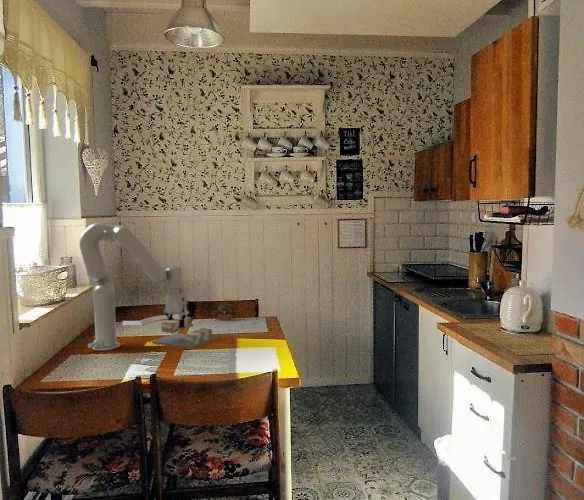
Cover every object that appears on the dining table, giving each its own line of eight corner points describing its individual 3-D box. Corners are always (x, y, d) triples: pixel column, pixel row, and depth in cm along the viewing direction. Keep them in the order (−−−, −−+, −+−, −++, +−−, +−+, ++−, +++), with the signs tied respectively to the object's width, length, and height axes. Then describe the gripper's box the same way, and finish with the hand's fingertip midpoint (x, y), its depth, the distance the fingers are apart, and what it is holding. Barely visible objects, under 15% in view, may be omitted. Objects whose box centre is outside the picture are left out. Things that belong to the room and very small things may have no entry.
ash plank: (173, 333, 242) (172, 324, 241) (161, 332, 245) (161, 323, 244) (193, 326, 256) (192, 317, 256) (181, 324, 259) (181, 316, 259)
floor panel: (193, 348, 236) (193, 346, 236) (152, 343, 246) (152, 341, 246) (214, 339, 252) (214, 337, 252) (175, 335, 263) (175, 333, 263)
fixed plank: (192, 345, 237) (192, 336, 237) (182, 344, 240) (182, 335, 239) (212, 337, 251) (211, 329, 251) (202, 336, 254) (201, 328, 254)
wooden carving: (210, 320, 296) (209, 304, 295) (213, 319, 301) (212, 302, 300) (236, 321, 293) (236, 304, 292) (239, 319, 297) (238, 303, 296)
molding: (182, 314, 319) (182, 310, 319) (193, 317, 310) (193, 312, 310) (119, 325, 290) (119, 320, 290) (128, 328, 281) (128, 323, 281)
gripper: (193, 290, 249) (195, 326, 250) (166, 289, 256) (167, 323, 258) (184, 293, 242) (186, 329, 244) (156, 291, 249) (158, 327, 251)
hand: (176, 326), depth 251 cm, fingers closed on ash plank, 6 cm apart
